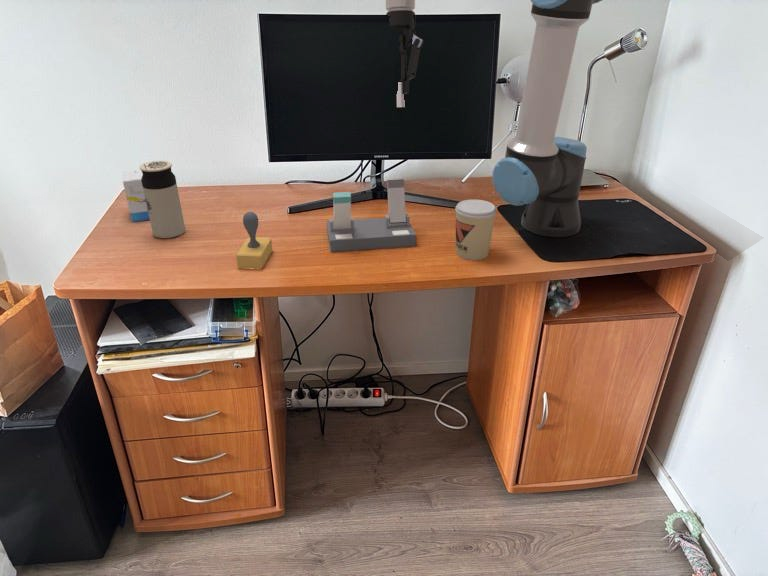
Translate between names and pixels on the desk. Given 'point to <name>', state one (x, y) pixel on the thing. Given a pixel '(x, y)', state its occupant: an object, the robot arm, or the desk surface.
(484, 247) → the coffee cup
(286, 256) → the desk surface
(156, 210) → the travel mug
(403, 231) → the control panel
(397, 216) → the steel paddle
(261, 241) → the rubber stamp
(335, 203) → the cream paddle
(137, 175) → the ink box
